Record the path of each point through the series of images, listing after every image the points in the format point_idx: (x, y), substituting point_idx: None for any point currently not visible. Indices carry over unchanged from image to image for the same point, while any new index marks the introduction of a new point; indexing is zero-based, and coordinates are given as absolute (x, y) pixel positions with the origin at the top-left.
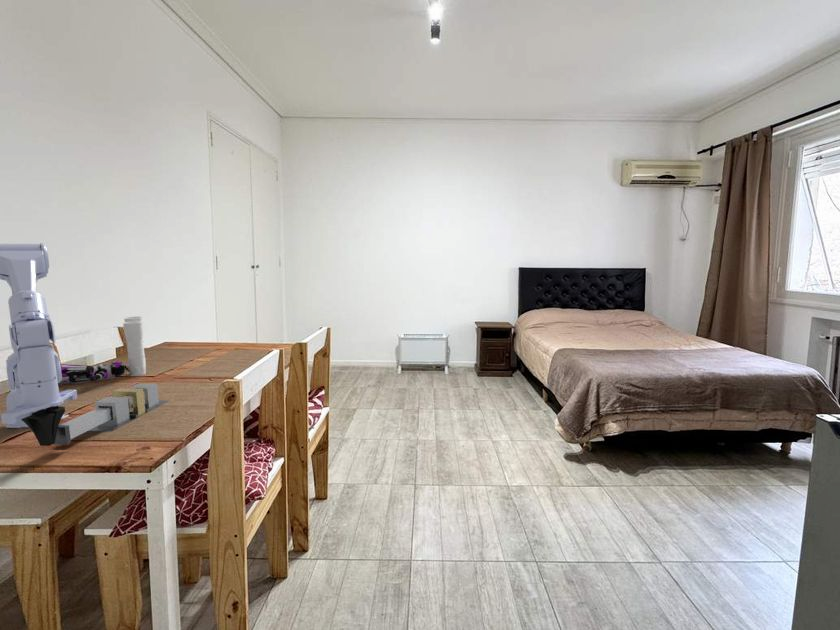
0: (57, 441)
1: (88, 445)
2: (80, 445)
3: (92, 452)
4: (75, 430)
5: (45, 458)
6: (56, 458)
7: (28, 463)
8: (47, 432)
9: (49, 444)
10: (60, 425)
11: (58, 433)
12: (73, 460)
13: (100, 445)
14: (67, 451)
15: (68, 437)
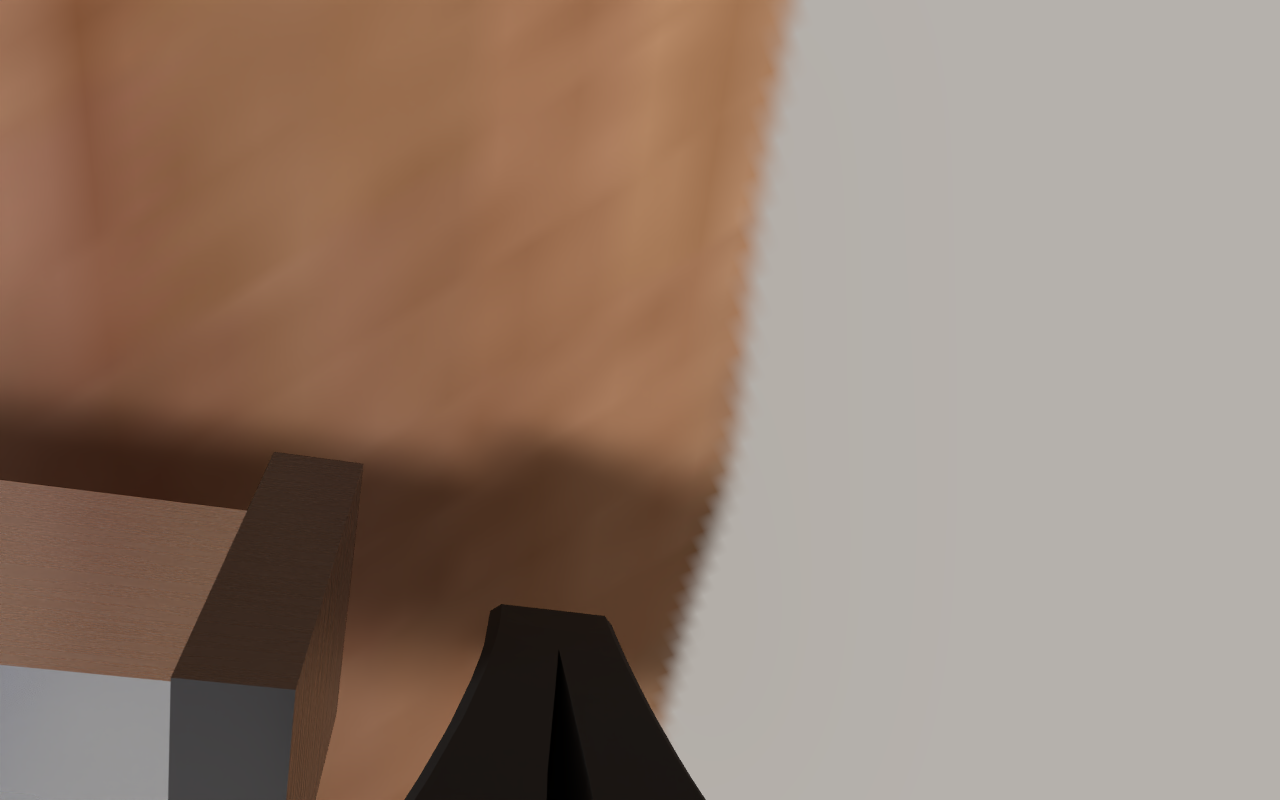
0: (340, 638)
1: (67, 259)
2: (81, 389)
3: (353, 2)
4: (24, 563)
5: (537, 579)
6: (550, 443)
7: (666, 672)
8: (695, 794)
9: (606, 628)
10: None
11: (315, 715)
12: (653, 147)
13: (41, 33)
14: (313, 443)
15: (288, 521)
